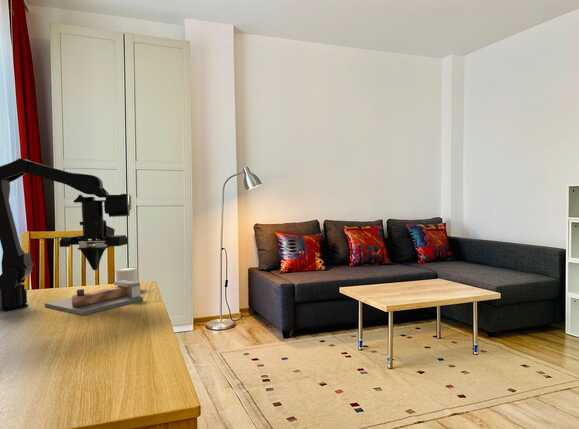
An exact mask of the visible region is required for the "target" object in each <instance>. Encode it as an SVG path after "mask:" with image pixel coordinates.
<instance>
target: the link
mask: <svg viewBox="0 0 579 429" xmlns="http://www.w3.org/2000/svg"><path fill="white" fill-rule="evenodd" d="M125 295H128V292H127V287H123V286H117V285H116V286H113V287H108V288H104V289H99V290H96V291H91V292H86V293H85V289H83V288H82V289H77V290H76V294H75V295H72V296H71V297H72V306H74V307H79V306H86V305H89V304H91V303H96V302H100V301H104V300H108V299H112V298H116V297H120V296H125Z"/></svg>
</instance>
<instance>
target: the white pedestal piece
mask: <svg viewBox="0 0 579 429" xmlns="http://www.w3.org/2000/svg"><path fill="white" fill-rule="evenodd" d="M115 275H116V281H120V280H125V281H132V282H138V267H122V268H117V269H115Z"/></svg>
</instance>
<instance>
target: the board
mask: <svg viewBox="0 0 579 429" xmlns="http://www.w3.org/2000/svg"><path fill="white" fill-rule="evenodd" d="M140 301H144V300H143V296H142V295H140V297H136V298H128V295H125V296H120V297H116V298H112V299H108V300H104V301H100V302H96V303H91V304H89V305H86V306H79V307H74V306H72V296H71V297H67V298H64V299H63V298H62V299H59V300H54V301H48V302H44V308H49V309H53V310H58V311H63V312H66V313H70V314H75V315H79V316H86V315H89V314H93V313H98V312H102V311H105V309H106V310H110V309H114V308H117V307H122V306H125V305H129V304H134V303H136V302H140Z"/></svg>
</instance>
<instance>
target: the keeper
mask: <svg viewBox="0 0 579 429" xmlns="http://www.w3.org/2000/svg"><path fill="white" fill-rule="evenodd" d="M113 286H116V287H117V286H123V287H127V292H128V298H136V297H140V296H141V282H138V281H137V282H132V281H125V280H120V281H117V280H116V281H113Z"/></svg>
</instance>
